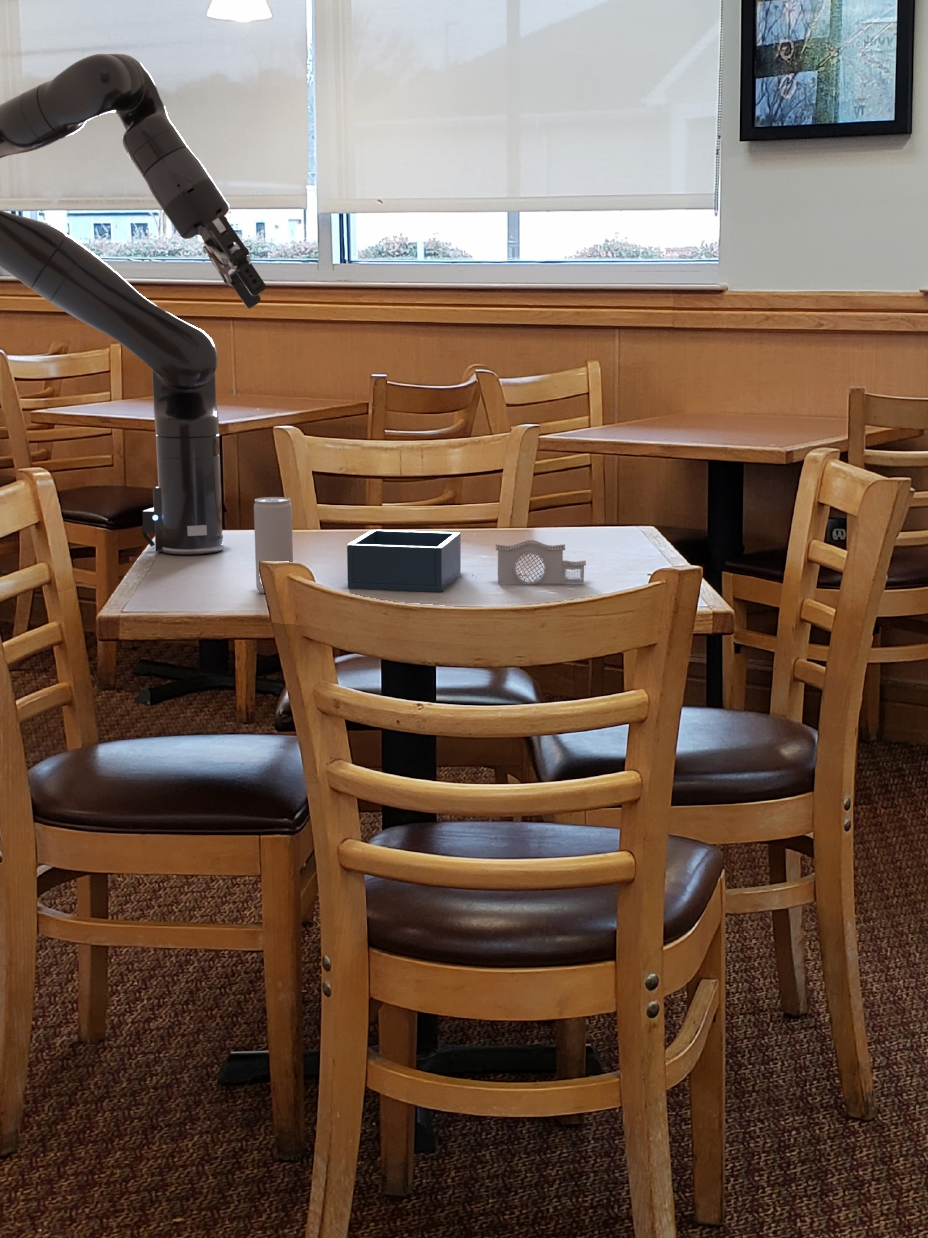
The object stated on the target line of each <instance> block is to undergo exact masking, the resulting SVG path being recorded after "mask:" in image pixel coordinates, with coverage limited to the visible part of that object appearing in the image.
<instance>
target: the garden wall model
mask: <svg viewBox="0 0 928 1238" xmlns="http://www.w3.org/2000/svg"><path fill="white" fill-rule="evenodd" d="M495 551H497V584H525V585H529V586H530V585H536V584H585V567H586V566H587V561H586V560H579V561H571V560H564V559H563V558H564V557H563V556H564V551H566V544H565V543H563V544H546V543H543V542H541V541H538V540H535V539H525V540H522V541H520V542H517V543H514V544H498V543H496V544H495ZM528 555H529V556H528ZM522 559H523V560H522ZM536 560H537V561H536ZM533 562H534V563H533ZM537 563H539V564H537ZM521 564H522V565H521ZM542 564H543V565H542ZM518 566H519V567H518ZM539 566H540V567H539ZM532 567H533V568H532ZM536 568H538V569H536ZM524 569H525V570H524ZM529 569H530V570H529ZM541 569H542V570H541ZM534 570H535V571H534ZM571 570H572V571H571ZM521 571H522V572H521ZM526 571H527V572H526ZM531 572H532V573H531ZM518 573H519V574H518ZM523 573H524V574H523ZM536 573H537V574H536ZM528 574H529V575H528ZM533 575H534V576H533ZM525 576H526V577H525ZM524 577H525V578H524ZM530 577H531V578H530Z"/></svg>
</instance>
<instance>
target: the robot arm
mask: <svg viewBox="0 0 928 1238" xmlns="http://www.w3.org/2000/svg"><path fill="white" fill-rule="evenodd" d="M108 113H115V114H116V115H117V116H118V117H119V119H120V122H121V123H122V126H123V127H124V129H125V131H124V133H123V135H122V140H121V141H122V146H123V148H124V150H125V151H126V154H127V156H129V159H130V160H131V161H132V163H133V164H134V166H135V168H136V169H137V170H138V172H139V173H140V175H141V176H142V177H143V179H144V182H145V183H146V184H147V187H148V189H149V191H150V192H151V194H152V196H153V197H154V199H155V200H156V202H157V204H158V205H159V207H160V208H161V209H162V211H163V212H164V214H165V215H166V216H167V218H168V220H169V221H170V223H171V224H172V225H173V227H174V228H175V231H177V233H178V235H179V236H180V237H181V238H182V239H185V240H187V239H192V238H194V237H195V236H200V237H201V239H202V241H203V246H202V249H203V250H202V251H203V253H204V254H206V256H207V257H208V259H209V261H210V262H211V263H212V265H213V266H214V267H215V269H216V271H217V272H218V274H219V275H220V277H221V278H222V281H223V283H224V284H225V285H227V286H230V287H232V288H233V289H234V292H235V293H236V295H237V296H238V297H239V299H240V300H241V302H242V303H243V305H244V306H245V308H247V309H249V310H250V309H252V308H254V307H255V306H257V305H258V304H260V302H261V299H262V298H261V296H260V294H261V293H263V292H264V291H265V290H266V289H267V285H266V283H265V282H264V280H263V279H262V277H261V276H260V275H259V273H258V271H257V270H256V268H255V267H254V265H253V264H252V260H251V257H250V252H249V251H250V250H249V249H248V248H247V247H246V246H245V244H244V242H243V241H242V240H241V238H240V237H239V235H238V234H237V232H236V231H235V230H234V228H233V227H232V225H231V224H230V222H229V220H228V218H227V217H226V215H227V214H228V212H229V211H230V204H229V202H228V201H227V200H226V198H225V197H224V195H223V194H222V191H220V189H219V187H218V186H217V185H216V183H215V182H214V180H213V178H212V177H211V175H210V174H209V173H208V172H207V169H206V168H205V166H204V165H203V164H202V162H201V160H199V158H197V157H196V155H195V154H194V153H193V152H192V150H191V149H190V148H189V146H188V145H187V144H186V142H185V140H184V138H183V137H182V136H181V134H180V133H179V131H178V130H177V129H176V127H175V126H174V124H173V123H172V121H171V120H170V118H169V116H168V112H167V110H166V106H165V103H164V102H163V100H162V97H161V95H160V92H159V90H158V88H157V86H156V83H155V82H154V79H153V78H152V76H151V74H150V73H149V71H148V70H147V69H146V68H145V67H144V65H143V64H142V63H141V62H140V61H139V60H138V59H136V58H135V57H133V56H130V55H128V54H124V53H96V54H92V55H88V56H86V57H84V58H81V59H80V60H77V61H75V62H74V63H72V64H71V65H69V66H68V67H66V68H65V69H64V70H62V71H61V72H60V73H59V74H57V75H56V76H54V77H53V79H50V80H47V81H45V82H43V83H41V84H39V85H37V86H35V87H33V88H30V89H28V90H26V91H25V92H22V93H21V94H19V95H16V96H14V97H12V98H11V99H9V100H6V101H5V102H2V103H1V104H0V159H2V158H6V157H7V156H14V155H18V154H25V153H30V152H33V151H36V150H39V149H42V148H45V147H47V146H49V145H52V144H54V143H56V142H58V141H60V140H63V139H64V138H67V137H68V136H69V137H70V136H71V135H74V134H75V133H77V132H78V131H80V130H81V129H82V128H84V126H85V124H86V123H87V121H90V120H92V119H94V118H96V117H98V116H99V117H100V116H101V115H105V114H108ZM0 268H1V269H2V270H3V271H5V272H7V273H8V274H10V275H11V276H13V277H14V278H15V279H17V280H18V281H20V282H21V283H22V284H23V285H25V286H26V287H27V288H28V289H31V290H32V291H33V292H34V293H36V294H37V295H39V296H40V297H42V299H44V300H46V301H47V302H49V303H50V304H52V305H53V306H55V307H57V308H58V309H60V310H62V311H63V312H65V313H66V314H68V315H70V316H72V317H73V318H75V319H76V320H78V321H80V322H82V323H84V324H85V325H88V326H89V327H91V328H93V329H95V330H97V331H99V332H101V333H103V334H105V335H107V336H108V337H109V338H112V339H113V340H115V341H116V342H118V343H119V344H120V345H122V346H123V347H124V348H126V349H127V350H128V351H129V352H131V353H132V354H133V355H135V356H136V357H137V358H138V359H139V360H140V361H142V362H143V363H144V364H145V365H146V366H148V368H150V369H151V379H152V381H151V382H152V399H153V400H152V401H153V417H154V430H155V447H156V450H155V451H156V467H157V468H156V469H157V471H156V472H157V473H156V474H157V486H155V487H154V488H153V489H152V496H153V497H152V498H153V499H152V500H153V501H152V502H153V503H152V504H153V507H150V508H147V509H144V510H142V526H141V534H142V536H143V538H144V540H145V541H146V542H147V543H148V545H149V546H150V548H151V547H152V548H153V546H155V552H157V553H165V554H171V555H205V554H212V553H216V552H220V551H223V550H224V548H225V547H224V534H223V508H222V507H223V506H222V504H223V503H222V483H221V482H222V477H221V475H222V474H221V455H220V453H221V451H220V449H221V448H220V423H219V421H220V420H219V412H218V403H217V382H216V372H217V368H218V362H219V360H218V359H219V358H218V350H217V347H216V345H215V343H214V341H213V339H212V337H210V336H209V334H207V333H206V332H205V331H204V330H202V329H201V328H198V327H196V326H195V325H192V324H190V323H188V322H186V321H184V320H182V319H180V318H178V317H177V316H175V315H173V314H172V313H170V312H168V311H166V310H165V309H163V308H161V307H159V306H158V305H156V303H154V302H152V301H150V300H149V299H147V298H146V297H145V296H143V295H142V294H141V293H139V291H137V290H136V289H135V288H134V287H133V286H132V285H131V284H130V283H129V282H128V281H127V280H126V279H124V278H123V277H122V276H121V275H120V274H119V273H118V272H117V271H115V270H114V269H113V268H112V267H111V266H110V265H108V263H106V262H104V261H103V260H102V259H101V258H100V257H99V256H98V255H96V254H95V253H94V252H93V251H91V250H90V249H88V248H87V247H86V246H84V245H83V244H82V243H80V242H79V241H77V240H75V238H73V237H72V236H70V235H68V234H67V232H64V231H63V230H62V229H59V228H58V227H56V226H54V225H52V224H49V223H46V222H43V221H41V220H37V219H34V218H29V217H26V216H22V215H18V214H15V213H12V212H7V211H4V210H1V209H0ZM231 270H232V271H231ZM229 271H230V272H229ZM148 533H154V541H153V539H152V538H151V537H150V536H149V534H148Z"/></svg>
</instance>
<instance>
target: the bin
mask: <svg viewBox="0 0 928 1238" xmlns="http://www.w3.org/2000/svg"><path fill="white" fill-rule="evenodd" d="M461 534H462V533H461V532H453V531H451V532H450V531H425V530H424V531H423V530H421V531H420V530H419V531H418V530H394V529H393V530H389V529H388V530H387V529H371V530H369V531H367V532H366V533H364V534H363V535H361V536H359V537H358V538H356V539H355V540H353V541H351V542H349V543H348V544H347V545H346V559H347V560H346V565H347V571H346V572H347V589H357V590H380V591H381V590H382V591H405V592H426V593H427V592H431V593H442V592H443V591H444V590H445V589H446V588H448V586H450V585H451V583H453V582H454V581H455V580H456V579H457V578H458V577H459V576H460V575H461V573H462V572H461V571H462V570H461V569H462V568H461V565H462V563H461V560H462V559H461V556H462V555H461V554H462V553H461V552H462V551H461V549H462V547H461V545H462V543H461V542H462V541H461V539H462V537H461Z"/></svg>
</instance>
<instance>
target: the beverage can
mask: <svg viewBox="0 0 928 1238" xmlns="http://www.w3.org/2000/svg"><path fill="white" fill-rule="evenodd" d="M292 505H293V504H292V503H291V498H289V497H283V496H267V497H266V496H265V497H258V498H255V499H254V505H253V521H254V522H253V523H254V524H253V525H254V553H255V554H254V555H255V583H256V584H255V587H256V590H257V591H258V592H259V593H261V594H264V590H263V588H262V584H261V582H260V576H259V561H289V562H293V563H294V546H293V545H294V543H293V542H294V541H293V506H292Z"/></svg>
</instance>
